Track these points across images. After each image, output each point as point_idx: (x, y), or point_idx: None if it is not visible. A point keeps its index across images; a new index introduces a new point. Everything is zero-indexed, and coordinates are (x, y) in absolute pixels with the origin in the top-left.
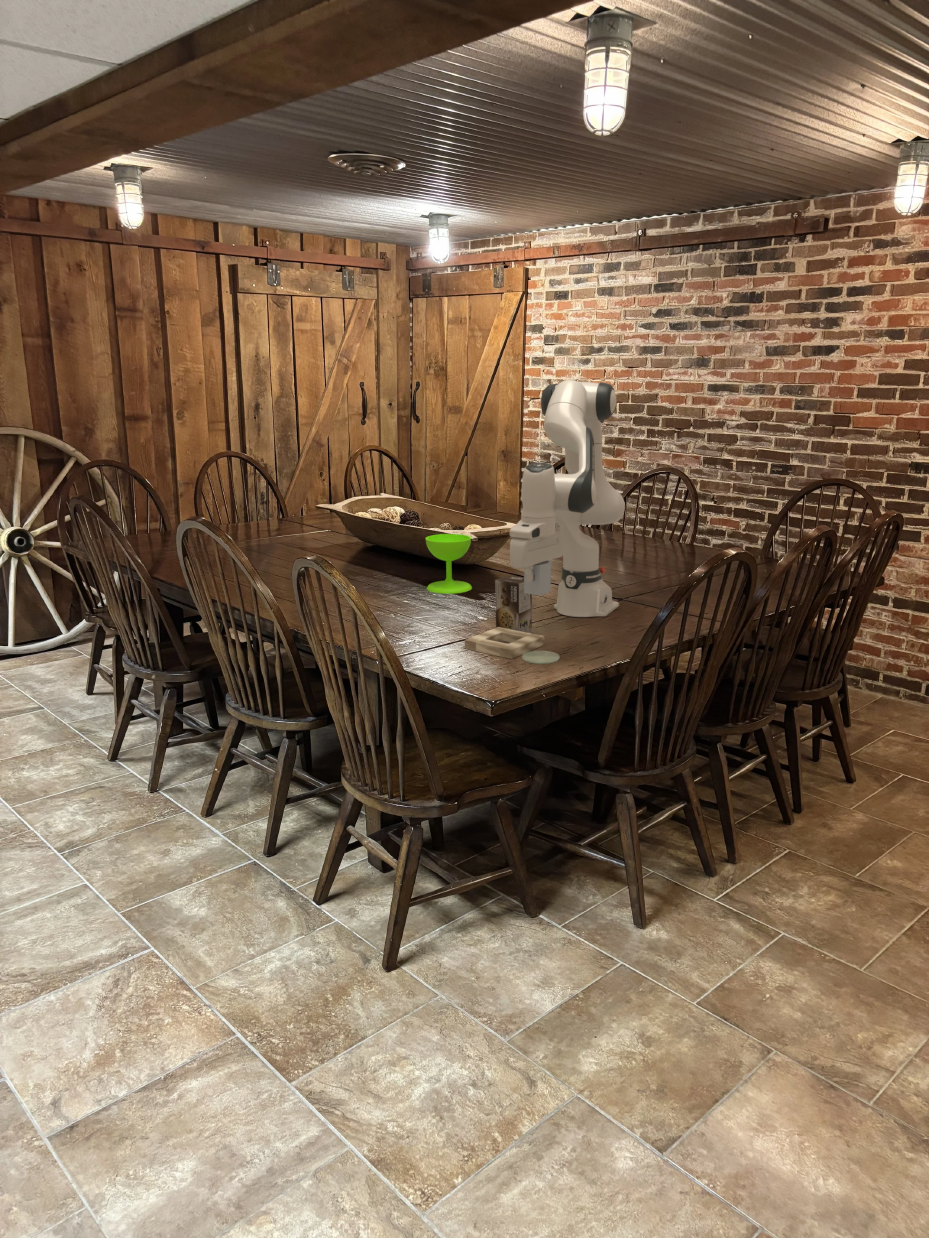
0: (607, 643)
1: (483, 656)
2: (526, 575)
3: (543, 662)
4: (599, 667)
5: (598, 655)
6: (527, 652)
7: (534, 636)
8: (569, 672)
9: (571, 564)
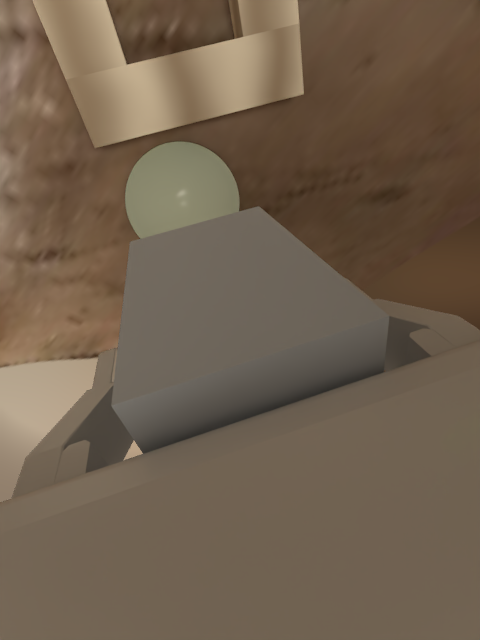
0: (401, 220)
1: (5, 23)
2: (95, 383)
3: None
4: None
5: None
6: (174, 145)
7: (276, 65)
8: None
9: None
